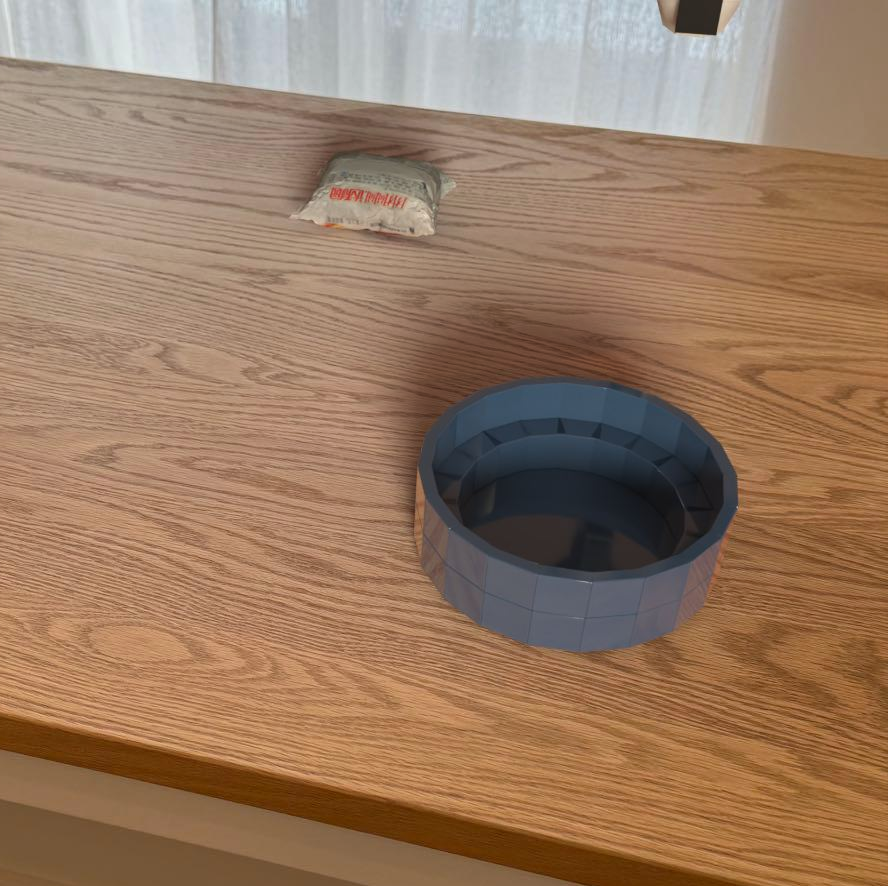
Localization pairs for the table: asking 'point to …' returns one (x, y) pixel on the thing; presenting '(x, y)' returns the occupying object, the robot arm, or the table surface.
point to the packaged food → (377, 194)
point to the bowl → (573, 512)
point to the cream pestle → (669, 11)
